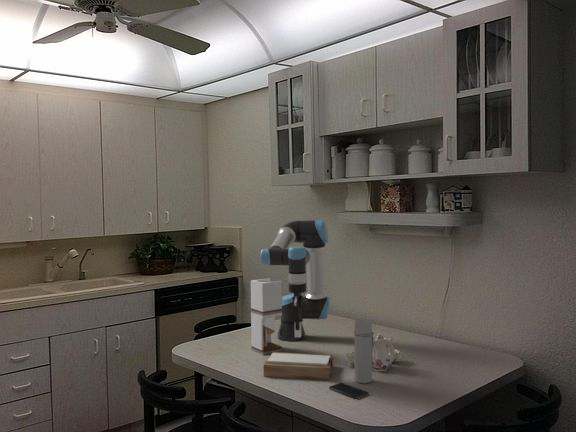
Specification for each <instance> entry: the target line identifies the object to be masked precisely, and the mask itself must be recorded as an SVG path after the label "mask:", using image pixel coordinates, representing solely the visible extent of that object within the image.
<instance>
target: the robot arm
mask: <svg viewBox="0 0 576 432" xmlns="http://www.w3.org/2000/svg"><path fill="white" fill-rule="evenodd" d="M328 242H329V232H328V227H327V224H326V222H325V221H324V220H317V219H315V220H314V219H313V220H293V221H289V222H287V223H286V224H284V225H283V226H281V227H280V228H279V229H278V231H277V235H276V238H275V239H274V241H273V243H272V244H271V245H270V247H269V248H262V249H261V250H260V255H259V258H260V259H259V260H260V264H261V265H263V266H269V267H270V266H287V267H288V274H287V278H288V282H289V283H288V292H289V293H291V294H287V295H282V315H281V316H280V325H279V328H278V331H277V339H279V340H281V341H287V342H296V341H297V342H298V341H302V340H304V339H306V331H305V327H304V325H303V321H304V320H318V321H319V320H326V319H327V318H328V316H329V312H330V311H329V310H330V303H331V301H330V300H331V298H329V297H328V295H327V293H326V291H325V288H324V287H325V286H324V256H323V255H324V251H323V249H324V248H325V247H326V244H328ZM296 243H297V244H298V243H299V244H300V243H301V244H302V245H303V246H290V245H292V244H296ZM306 282H307V283H306ZM304 293H305V294H304ZM303 294H304V296H303Z"/></svg>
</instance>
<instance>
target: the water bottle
mask: <svg viewBox="0 0 576 432" xmlns="http://www.w3.org/2000/svg"><path fill="white" fill-rule="evenodd" d="M353 332H354V335H353V336H354V338H353V339H354V342H353V343H354V352H355V367H354V380H355V382H357V383H359V384H369V383H371V382H372V381H373V370H372V368H373V367H372V351H373V349H374V341H373V338H374V335H375V334H374V332H373V326H372V321H371V320H370V319H356V320H355V322H354V331H353ZM374 359H375V350H374ZM375 366H376V359H375V365H374V368H375ZM374 368H373V369H374Z"/></svg>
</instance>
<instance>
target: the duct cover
mask: <svg viewBox="0 0 576 432" xmlns="http://www.w3.org/2000/svg"><path fill="white" fill-rule="evenodd" d="M284 353H285V352H279V353H271V354H272V355H271V354H270V357H268V359H267V360H268V361H267V360H266V361H267V363H285V364H304V365H323V366H327V365H328V362H329V359H330V356H326V355H327V354H321V355H305V354H306V353H300V354H284Z"/></svg>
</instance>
